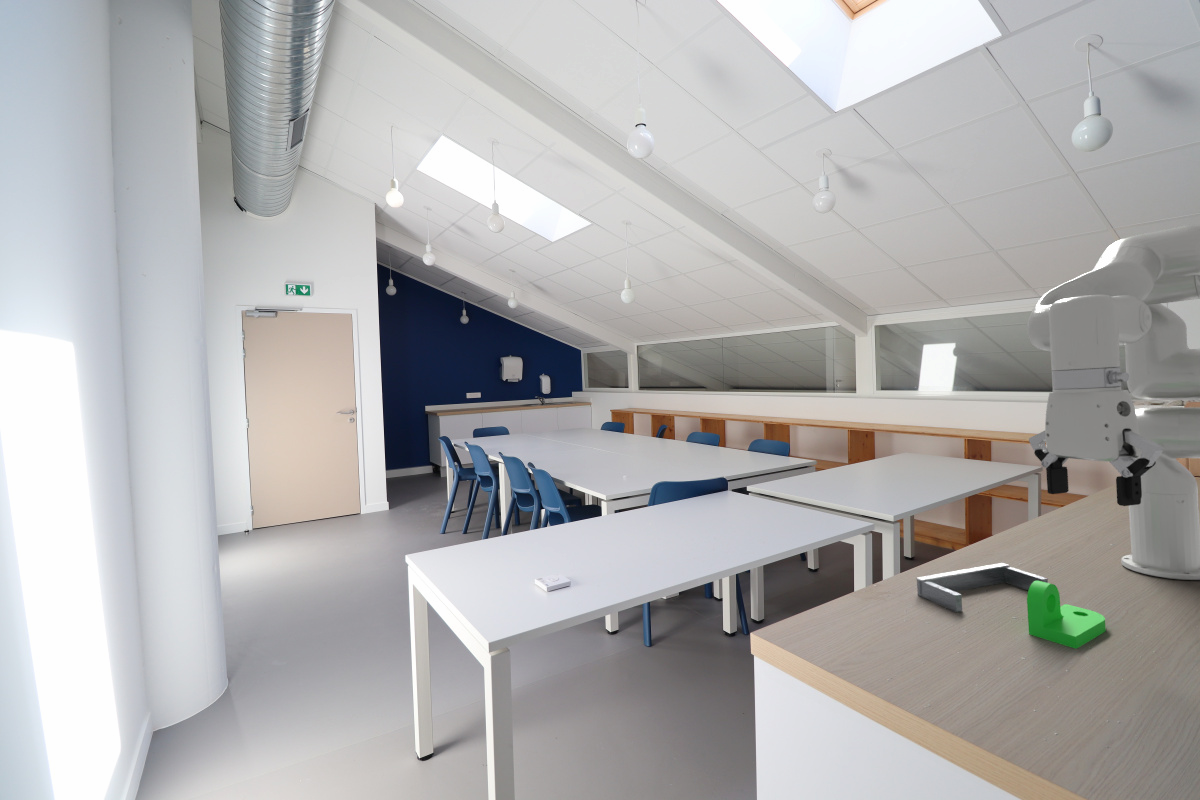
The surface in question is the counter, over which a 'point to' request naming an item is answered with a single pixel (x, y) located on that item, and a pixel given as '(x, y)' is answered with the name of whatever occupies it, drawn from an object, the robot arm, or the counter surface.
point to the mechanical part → (1060, 618)
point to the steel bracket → (971, 583)
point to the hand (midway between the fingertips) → (1091, 498)
